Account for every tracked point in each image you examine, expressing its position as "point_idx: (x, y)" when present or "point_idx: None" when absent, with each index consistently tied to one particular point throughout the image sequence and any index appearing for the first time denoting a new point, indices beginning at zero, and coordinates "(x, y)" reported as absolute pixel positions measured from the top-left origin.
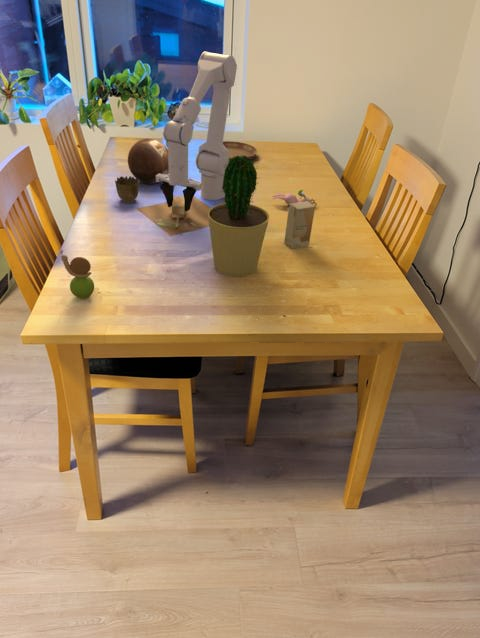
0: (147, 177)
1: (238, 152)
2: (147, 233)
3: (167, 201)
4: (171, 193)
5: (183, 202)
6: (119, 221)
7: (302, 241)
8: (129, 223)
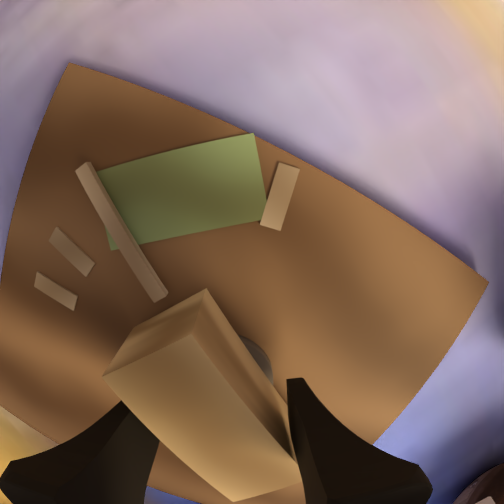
0: (501, 483)
1: None
2: (253, 41)
3: (307, 400)
4: (305, 482)
5: (169, 439)
6: (483, 113)
7: None
8: (435, 111)
